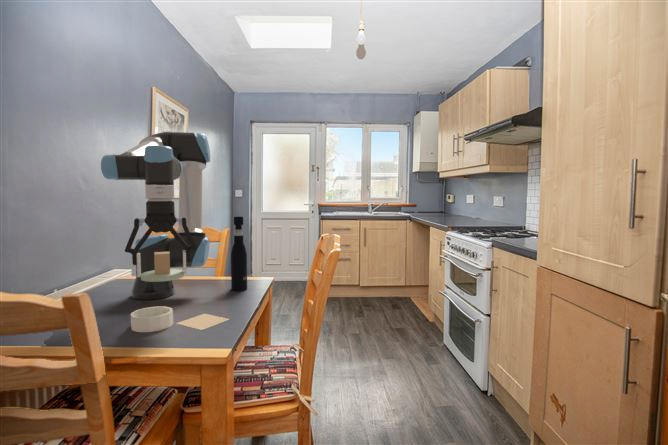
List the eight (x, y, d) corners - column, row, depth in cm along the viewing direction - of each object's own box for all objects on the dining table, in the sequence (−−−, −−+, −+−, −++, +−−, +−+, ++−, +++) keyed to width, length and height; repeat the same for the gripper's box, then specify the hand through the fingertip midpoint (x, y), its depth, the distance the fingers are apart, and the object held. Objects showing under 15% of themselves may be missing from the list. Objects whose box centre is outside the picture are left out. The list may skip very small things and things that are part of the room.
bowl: (123, 330, 112) (122, 313, 112) (157, 320, 122) (156, 304, 121) (147, 338, 107) (147, 320, 107) (180, 326, 116) (180, 309, 116)
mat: (175, 326, 116) (175, 323, 116) (204, 316, 126) (204, 313, 126) (201, 333, 111) (201, 330, 111) (229, 322, 120) (229, 319, 120)
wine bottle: (232, 287, 164) (231, 216, 162) (248, 287, 165) (247, 216, 163) (230, 291, 158) (229, 217, 156) (246, 290, 159) (245, 217, 156)
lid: (139, 283, 107) (138, 257, 106) (142, 274, 117) (141, 250, 117) (184, 279, 111) (183, 254, 111) (183, 271, 122) (182, 248, 121)
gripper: (111, 200, 104) (114, 280, 106) (204, 200, 113) (206, 273, 115) (114, 200, 111) (117, 274, 113) (202, 199, 120) (204, 269, 122)
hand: (162, 274), depth 114 cm, fingers closed on lid, 11 cm apart
